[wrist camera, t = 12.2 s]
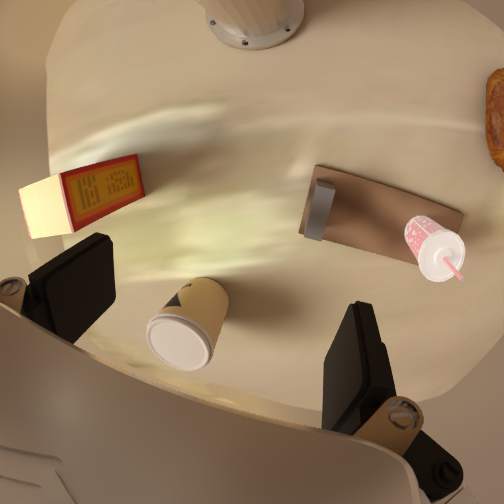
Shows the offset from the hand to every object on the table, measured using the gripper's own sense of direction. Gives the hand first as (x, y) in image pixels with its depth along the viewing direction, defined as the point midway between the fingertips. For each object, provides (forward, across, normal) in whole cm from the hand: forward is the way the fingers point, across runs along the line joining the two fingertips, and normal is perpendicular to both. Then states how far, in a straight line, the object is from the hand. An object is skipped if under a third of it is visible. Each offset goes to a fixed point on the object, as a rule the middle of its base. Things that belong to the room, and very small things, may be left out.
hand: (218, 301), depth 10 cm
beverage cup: (+28, -19, +2) cm, 34 cm away
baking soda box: (+28, +25, +5) cm, 38 cm away
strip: (+28, -14, +2) cm, 32 cm away
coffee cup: (+28, +8, +21) cm, 36 cm away
